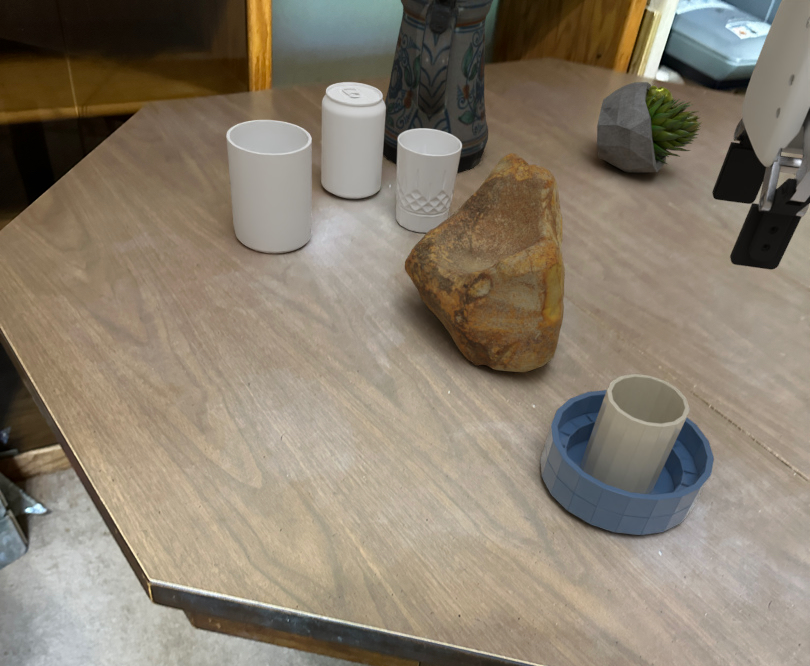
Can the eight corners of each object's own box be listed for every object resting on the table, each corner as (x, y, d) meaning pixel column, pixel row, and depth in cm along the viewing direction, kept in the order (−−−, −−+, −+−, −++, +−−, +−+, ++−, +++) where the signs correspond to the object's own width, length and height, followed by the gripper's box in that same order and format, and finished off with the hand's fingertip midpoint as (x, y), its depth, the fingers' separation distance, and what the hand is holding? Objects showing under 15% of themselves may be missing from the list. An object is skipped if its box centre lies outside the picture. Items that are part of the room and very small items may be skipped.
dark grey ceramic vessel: (458, 125, 123) (485, -70, 104) (511, 180, 112) (551, -29, 93) (360, 131, 118) (369, -73, 99) (404, 188, 107) (424, -30, 88)
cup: (647, 455, 73) (681, 378, 66) (658, 507, 69) (696, 430, 62) (576, 448, 73) (603, 370, 66) (583, 499, 68) (612, 421, 62)
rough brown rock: (408, 265, 95) (408, 139, 83) (543, 269, 94) (563, 142, 83) (399, 387, 80) (398, 254, 68) (559, 392, 79) (586, 259, 68)
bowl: (677, 438, 76) (696, 398, 72) (706, 547, 67) (729, 507, 63) (535, 423, 76) (546, 382, 72) (544, 530, 66) (558, 489, 62)
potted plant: (610, 116, 123) (710, 110, 117) (596, 193, 122) (695, 192, 116) (599, 64, 111) (709, 55, 105) (583, 149, 111) (692, 145, 105)
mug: (226, 250, 92) (217, 148, 83) (247, 204, 100) (241, 107, 91) (305, 260, 92) (304, 159, 83) (320, 213, 100) (320, 117, 91)
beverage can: (333, 205, 102) (335, 107, 93) (312, 178, 106) (312, 82, 97) (389, 198, 104) (396, 103, 95) (367, 172, 109) (371, 78, 100)
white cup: (412, 240, 97) (420, 159, 90) (380, 212, 101) (385, 133, 94) (462, 229, 100) (474, 149, 93) (429, 202, 105) (438, 124, 97)
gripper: (988, -11, 37) (818, 302, 50) (890, -86, 49) (772, 185, 61) (832, -30, 37) (703, 286, 50) (770, -101, 49) (678, 172, 62)
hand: (741, 230), depth 56 cm, fingers open, 9 cm apart
